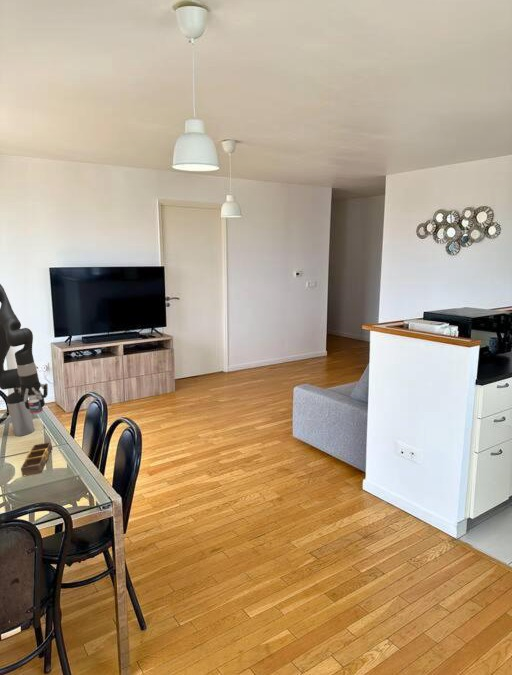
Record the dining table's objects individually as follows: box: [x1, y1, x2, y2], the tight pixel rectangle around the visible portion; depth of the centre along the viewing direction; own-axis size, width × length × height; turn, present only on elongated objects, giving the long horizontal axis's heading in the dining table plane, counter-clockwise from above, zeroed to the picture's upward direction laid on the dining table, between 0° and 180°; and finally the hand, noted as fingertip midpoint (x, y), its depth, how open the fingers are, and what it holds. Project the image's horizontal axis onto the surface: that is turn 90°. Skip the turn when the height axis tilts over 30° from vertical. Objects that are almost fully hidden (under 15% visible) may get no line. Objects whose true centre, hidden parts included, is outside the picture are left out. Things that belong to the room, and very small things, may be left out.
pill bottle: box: [28, 394, 44, 416], centre depth 212 cm, size 5×5×9 cm
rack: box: [20, 441, 53, 477], centre depth 202 cm, size 21×8×4 cm, turn 11°
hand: (35, 407), depth 213 cm, fingers closed on pill bottle, 5 cm apart
